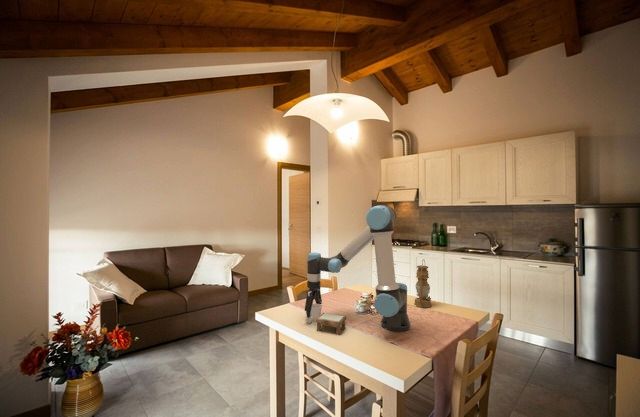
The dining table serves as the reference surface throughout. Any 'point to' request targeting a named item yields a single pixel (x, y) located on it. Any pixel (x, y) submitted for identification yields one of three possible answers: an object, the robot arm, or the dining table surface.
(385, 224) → the robot arm
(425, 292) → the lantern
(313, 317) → the cup
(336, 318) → the felt pad
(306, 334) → the dining table surface
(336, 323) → the footstool
